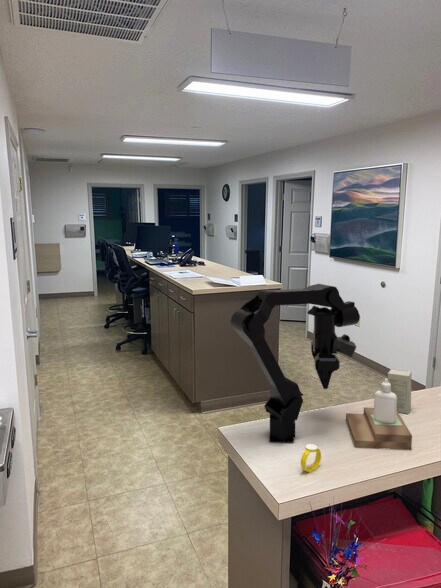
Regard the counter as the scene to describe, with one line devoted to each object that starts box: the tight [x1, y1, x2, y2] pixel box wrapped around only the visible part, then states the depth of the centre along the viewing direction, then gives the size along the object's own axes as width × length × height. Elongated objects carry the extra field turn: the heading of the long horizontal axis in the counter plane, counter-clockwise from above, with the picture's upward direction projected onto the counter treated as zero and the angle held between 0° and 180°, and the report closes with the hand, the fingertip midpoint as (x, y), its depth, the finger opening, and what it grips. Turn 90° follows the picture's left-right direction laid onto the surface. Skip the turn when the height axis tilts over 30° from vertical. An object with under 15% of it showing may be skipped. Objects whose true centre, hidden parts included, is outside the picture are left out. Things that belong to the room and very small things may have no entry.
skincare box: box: [387, 368, 412, 415], centre depth 133 cm, size 6×4×12 cm
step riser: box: [345, 406, 413, 451], centre depth 120 cm, size 14×16×4 cm
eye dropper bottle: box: [373, 377, 397, 424], centre depth 118 cm, size 4×6×12 cm
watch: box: [300, 443, 322, 473], centre depth 104 cm, size 6×3×6 cm, turn 128°
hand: (323, 382), depth 124 cm, fingers open, 9 cm apart
